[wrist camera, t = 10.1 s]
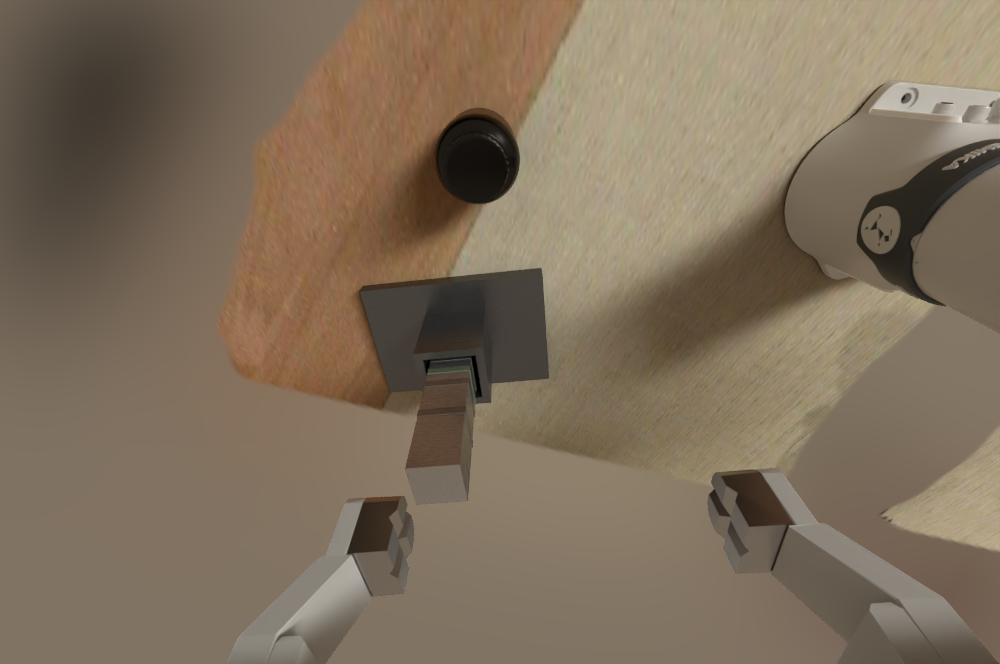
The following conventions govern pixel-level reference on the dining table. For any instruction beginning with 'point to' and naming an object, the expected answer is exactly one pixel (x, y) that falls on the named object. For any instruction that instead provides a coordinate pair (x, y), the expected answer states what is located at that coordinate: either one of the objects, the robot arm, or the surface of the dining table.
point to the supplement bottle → (477, 156)
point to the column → (444, 433)
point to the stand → (460, 327)
